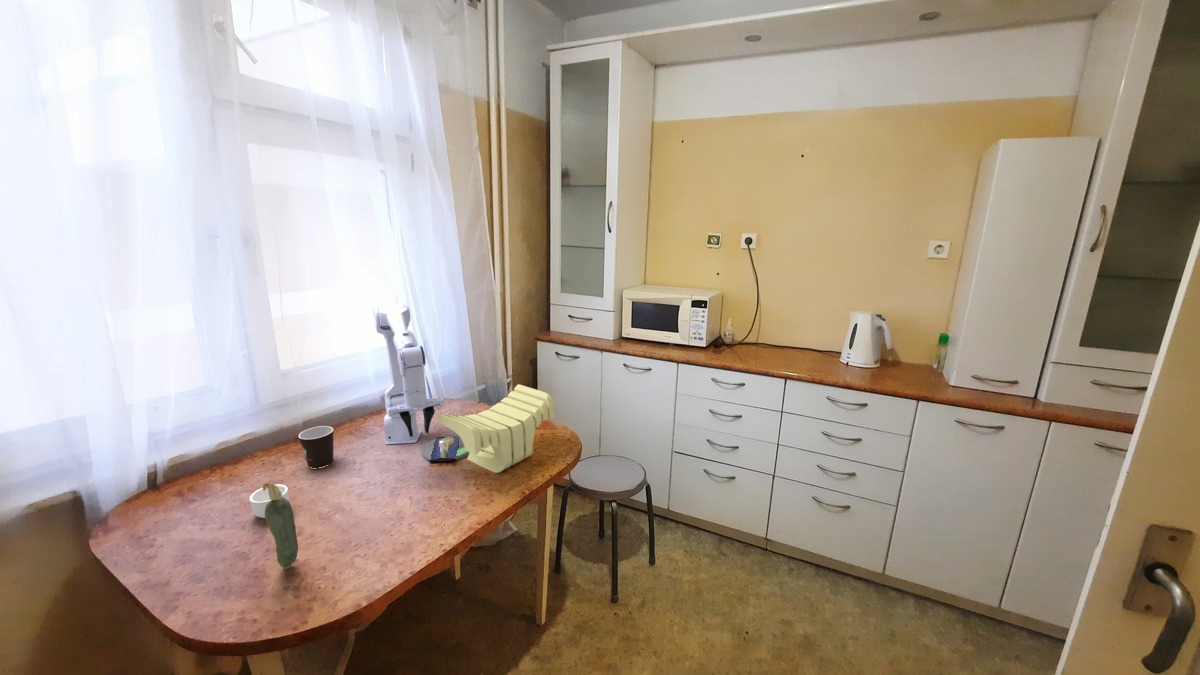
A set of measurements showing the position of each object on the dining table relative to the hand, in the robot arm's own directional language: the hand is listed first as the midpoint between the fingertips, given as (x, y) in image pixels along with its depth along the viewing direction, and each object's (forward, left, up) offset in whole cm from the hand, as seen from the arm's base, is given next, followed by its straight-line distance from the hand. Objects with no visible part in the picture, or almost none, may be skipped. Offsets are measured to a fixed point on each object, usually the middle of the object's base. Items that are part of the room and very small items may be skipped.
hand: (418, 433), depth 131 cm
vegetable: (-18, -38, -11) cm, 44 cm away
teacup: (-32, -16, -11) cm, 38 cm away
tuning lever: (+6, +6, -9) cm, 12 cm away
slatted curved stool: (+23, +1, -11) cm, 25 cm away
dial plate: (+6, +10, -10) cm, 15 cm away
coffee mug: (-30, +8, -11) cm, 33 cm away
